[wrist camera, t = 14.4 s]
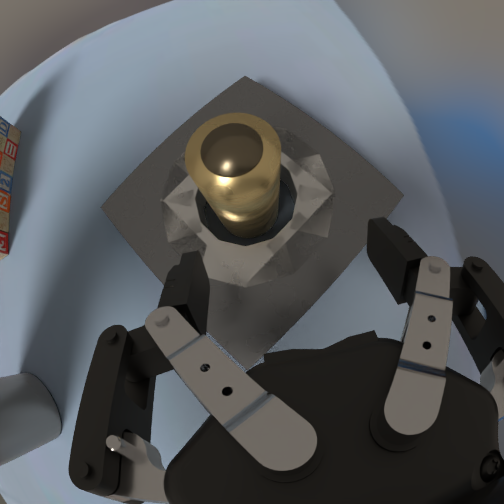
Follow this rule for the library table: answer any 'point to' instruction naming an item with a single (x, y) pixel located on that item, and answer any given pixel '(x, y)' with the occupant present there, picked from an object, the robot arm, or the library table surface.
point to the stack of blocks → (6, 178)
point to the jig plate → (267, 252)
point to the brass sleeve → (237, 171)
